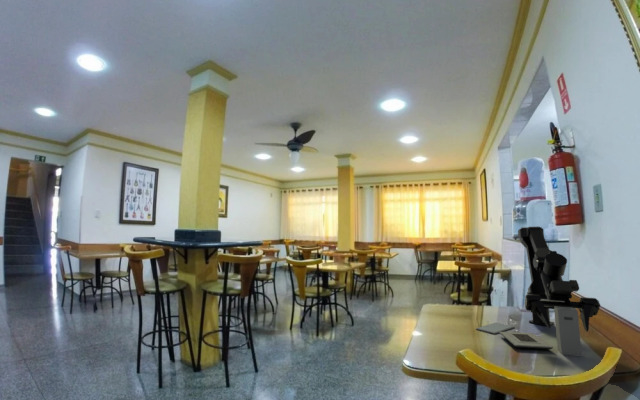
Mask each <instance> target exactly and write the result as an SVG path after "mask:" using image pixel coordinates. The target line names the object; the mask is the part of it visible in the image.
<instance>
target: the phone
mask: <svg viewBox="0 0 640 400" xmlns="http://www.w3.org/2000/svg"><path fill="white" fill-rule="evenodd" d="M515 328H516V327H515V326H513V325H510V324H509V325H508V324H504V323H500V322H494V323H490V324H487V325H483V326H480V327H477V328H475V330H476V331H480V332H483V333H487V334H491V335H494V336H495V335H499V334H500V333H499V332H508V331H509V330H510V331H511V330H514V329H515Z"/></svg>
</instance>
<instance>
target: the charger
mask: <svg viewBox="0 0 640 400" xmlns="http://www.w3.org/2000/svg"><path fill="white" fill-rule="evenodd" d="M553 311H554V324H555V333H556V343H557V345H556V346H557V351H560V352H559V353H560V354H561V355H565V356H572V357H574V356H575V357H583V355H582V354H583V353H582V352H583V351H582V344H581V332H580V323H579V311H578V309H574V308H572V307H559V306H554V309H553Z"/></svg>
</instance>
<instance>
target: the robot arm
mask: <svg viewBox="0 0 640 400" xmlns="http://www.w3.org/2000/svg"><path fill="white" fill-rule="evenodd" d="M544 233H545V232H544V228H543V227H542V226H541V227H540V226H528V227H526V226H522V227H520V228H519V229H518V231H517V236H518V239H520V240H519V241H520V243H521V244H522V246H523V247H524V248H525V249H526V254H527V255H526V257H527V262H528V269H529V274H530V281H531V282H530V284H529V286H528V288H527V292H526V294H525V297H524V308H525V310H526V311H528V312H529V311H530V313H531V318H532V319H531V320H528V323H531V324H536V325H539V326H544V327H547V328H548V329H551V325H554V324H555V321H551V319H550V318H551V317H550V310H554V306H559V307H572V308H574V309H576V310H579V311H578V312H579V313H580V315H579V316H580V319H581V322H582V323H581V324H582V326H583V327H584V330H585V331H586V332H589V330H590V329H589V328H590V318H593V317H594V316H597V315H598V313H599V310H600V307H601V303H600V301H599V300H598V299H597V298H596V297H584V296H582V297H580V299H579V301H574V300H573V301H571V299H572V298H573V295H572V293H573V292H578V291H579V290H580V284H579V282H578V281H577V280H576V279H569V280H563V277H562V276H565V271H566V269H567V263H568V259H567V257H565V256H564V255H563V254H560V253H558V252H557V251H556V250H550V248H549V246H548V243H547V240H546V238H545V234H544Z"/></svg>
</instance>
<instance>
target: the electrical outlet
mask: <svg viewBox="0 0 640 400" xmlns="http://www.w3.org/2000/svg"><path fill="white" fill-rule="evenodd" d="M499 334H500V335H501V336H502V337H504V338H505V340H506V341H508V342H509V343H511V344H512V345H513V346H514V347H515V348H517V349H518V348H519V349H520V348H521V349H533V348H534V349H533V350H538V349H539V350H540V349H541V350H553V349H554V346H553V345H551V344H550V343H548V342H547V341H546V340H544V339H542V338H541V337H539V336H538V335H536V334H534V332H516V331H514V332H513V331H505V332H499Z"/></svg>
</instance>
